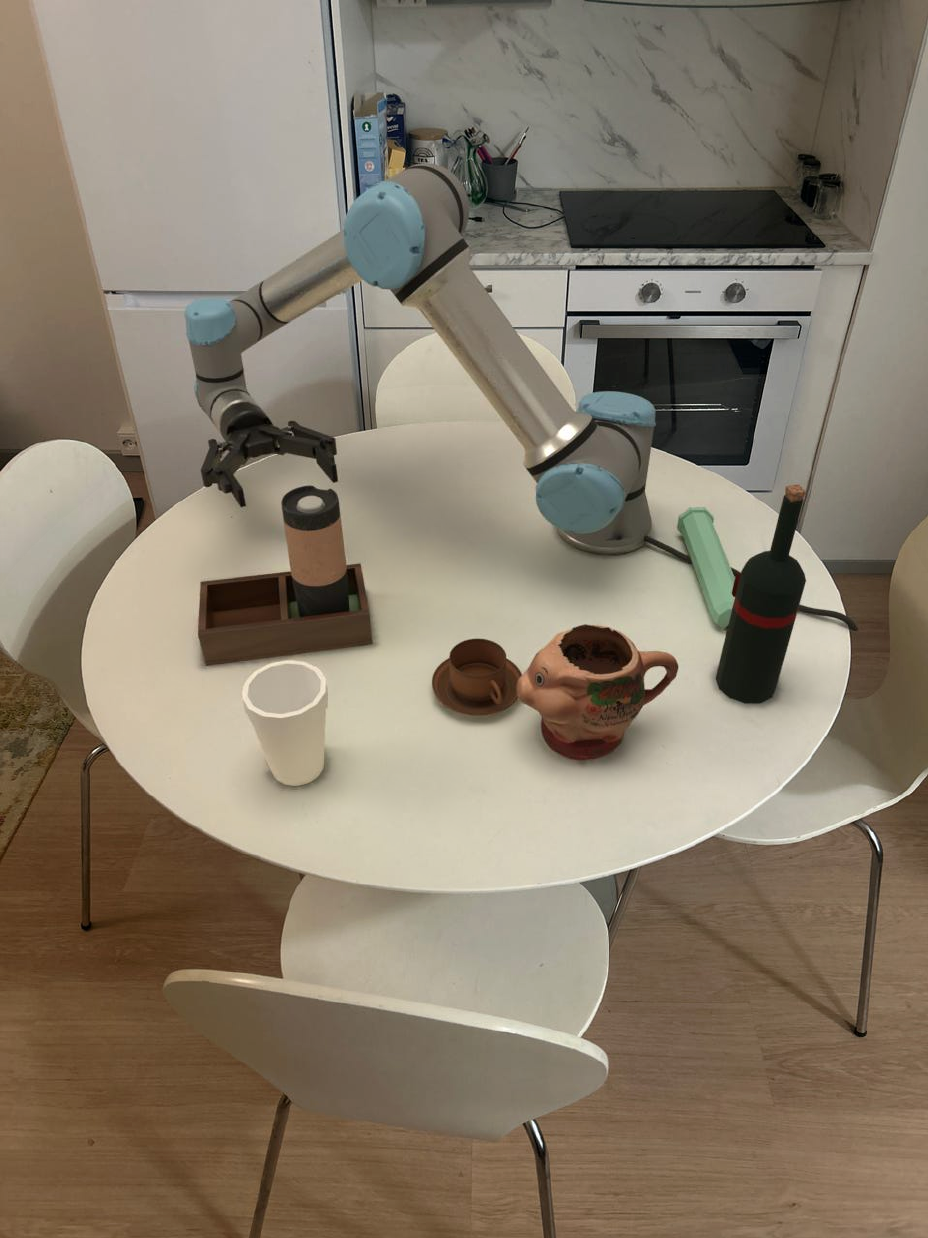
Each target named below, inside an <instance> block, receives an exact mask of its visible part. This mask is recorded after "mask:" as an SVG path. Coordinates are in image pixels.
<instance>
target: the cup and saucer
mask: <svg viewBox="0 0 928 1238" xmlns="http://www.w3.org/2000/svg"><path fill="white" fill-rule="evenodd" d="M522 675H523V673H522V671H521V670H520V669H519V667H518V666H517V664H515V663H514V662H513V661H512V660H510V659H509V658H507V653H506V651H505V649H504V648H503V646H501V645H500V644H499V643H497V642H495V641H493V640H490V639H486V638H470V639H469V638H468V639H465V640H463V641H461V642H458V643H457V644H456V645H454V646H453V647H452V648H451V650H450V652H449V656H448V658H447V659H444V660H443V661H442V662H441V663H440V664H439V665H438V666H437V667H436V669H435V670H434V672H433V674H432V679H431V686H432V690H433V693H434V695H435V697H436V699H437V700H438V701H439V703H441V704H442V705H443V706H444V707H445V708H447V709H449V710H451V711H452V712H455V713H458V714H461V715H465V716H470V717H471V716H473V717H485V716H491V715H495V714H498V713H501V712H503V711H505V710H507V709H509V708H510V707H511V706H513V705H514V704H515V703H516V702H517V701H518V700H519V698H518V695H517V682H518V680H519V678H520V677H521V676H522Z"/></svg>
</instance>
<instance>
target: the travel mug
mask: <svg viewBox="0 0 928 1238" xmlns="http://www.w3.org/2000/svg"><path fill="white" fill-rule="evenodd" d="M281 512H282V518H283V527H284V533H285V539H286V540H285V541H286V546H287V547H286V548H287V553H288V560H289V568H290V571H291V575H292V580H293V586H294V591H295V596H296V601H297V606H298V611H299V616H300V617H307V616H316V615H324V614H332V613H340V612H348V611H350V608H349V593H348V578H347V565H348V564H347V559H346V558H347V557H346V551H345V549H346V548H345V541H344V533H343V525H342V515H341V508H340V499H339V495H338V493H337V492H336V491H335V490H334V489H332V488H329V487H328V489H321V488H318V487H316V486H314V485H313V484H312V485H311V484H310V485H309V484H308V485H303V486H298V487H295V488H292V489H291V490H289V491H288V492H286V493H285V495H283V496H282V499H281Z"/></svg>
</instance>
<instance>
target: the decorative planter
mask: <svg viewBox="0 0 928 1238" xmlns="http://www.w3.org/2000/svg"><path fill="white" fill-rule="evenodd" d="M655 667H656V668H657V667H662V668H664V669H665V671H666V673H665V675H664V677H662V679H661V680H660V681H659V682H658V683H657V684H656V685H654V687H652V688H651V689H648V688H647V689H646V688H645V687H646V686H645V676H646V673H647V672H648V671H649V670H650V669H652V668H655ZM678 671H679V664H678V661H677V659H676V657H675V656H674V655H673V654H670V653H669V652H666V651H662V650H661V651H660V650H646V651H641V650H639V649H638V648H637V647H636V644H634V642H633V641H632V640H631V639H630V638H629V637H628V636H627V635H626V634H625V633H623V632H621V631H619V630H617V629H615V628H613V627H609V626H605V625H598V624H586V623H585V624H581V625H578V626H574V627H572V628H570V629H566V630H565V631H561V632H559V633H557V634H556V635H554V637H553V638H552V639H551V640H550V641H549V642H548V643H547V644H546V645H545V646H544V647H542V648H541V649H540V650H539V651H537V652H536V653H535V655H534V657H533V658H532V660H531V662H530V664H529V666H528V667H527V669H526V670H525V672H523V673H522V676H521V677H520V678H519V680H518V682H517V695H518V700H519V701H520V702H521V703H523V704H524V705H526V706H528V707H530V708H532V709H534V710H535V711H537V713H539V715H540V717H541V720H540V731H541V735H542V738H543V740H544V742H545V744H546V745H547V746H548V748H550V749H551V750H552V751H553V752H554V753H556V754H557V755H560V756H562V757H564V758H566V759H569V760H573V761H590V760H591V761H593V760H596V759H600V758H604V757H606V756H609V755H611V754H613V753H614V751H615V750H617V748H619V746H620V745H621V744H622V741H623V738H624V736H625V732H626V730H627V729H628V727H630V725H631V724H632V722H634V720H635V719H636V718H637V716H638V715H639V713H640V712H641V711H642V709H643V707H644V706H646V705H647V704H649V703H651V702H652V701H653V700H655V699H656V698H657V697H658V696H660V695H661V694H663V692H664V691H665V689H667V687H668V686H670V685H671V683H672V682H673V681H674V680H675V679H676V678H677V675H678Z"/></svg>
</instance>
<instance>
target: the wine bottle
mask: <svg viewBox="0 0 928 1238" xmlns="http://www.w3.org/2000/svg"><path fill="white" fill-rule="evenodd" d="M784 493H785V494H784V495H783V497H782V502H781V506H780V509H779V512H778V516H777V517H778V518H777V522H776V525H775V528H774V534H773V537H772V541H771V545H770V549H769V550H765V551H761V552H760V553H757V554H754V555H753V556H751V557H750V558H749V559H748V560H747V561H746V562H745V564H744V565H743V567H742V569H741V571H740V572H741V573H738V574H737V576H736V577H735V576H734V577H735V580H734V585H733V589H732V595H733V597H735V599H734V604H733V608H732V612H731V616H730V620H729V624H728V626H727V627H726V628H725V629H723V631H726V633H725V637H724V641H723V645H722V649H721V654H720V658H719V662H718V666H717V671H716V675H715V681H716V684H717V687H718V690H720V691H721V692H722V694H724V695H726V696H727V697H728V698H729V699H732V700H734V701H737V702H740V703H743V704H763V703H764V702H766V701H768V700H770V699H772V698H773V697H774V694H775V692H776V690H777V687H778V683H779V679H780V676H781V673H782V670H783V665H784V662H785V658H786V655H787V650H788V647H789V644H790V640H791V636H792V633H793V630H794V625H795V622H796V618H797V616H798V612H799V611H798V608H799V605H801V600H802V597H803V594H804V590H805V586H806V583H807V578H806V574H805V572H804V569H803V568H802V566H801V564H800V562H799V561H798V559H796V558H794V557H793V556H791V555H790V553H791V549H792V545H793V541H794V537H795V533H796V530H797V526H798V522H799V519H800V516H801V511H802V507H803V504H804V498H805V495H806V493H807V491H806V490H805V488H803V487H802V486H801V485H800V484H799V483H798V484H790V485H785V492H784Z"/></svg>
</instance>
